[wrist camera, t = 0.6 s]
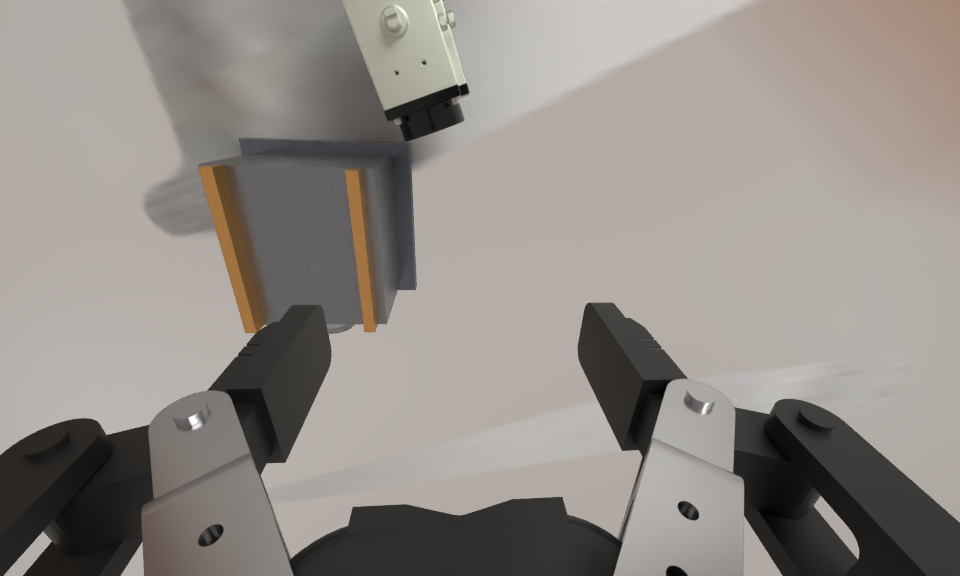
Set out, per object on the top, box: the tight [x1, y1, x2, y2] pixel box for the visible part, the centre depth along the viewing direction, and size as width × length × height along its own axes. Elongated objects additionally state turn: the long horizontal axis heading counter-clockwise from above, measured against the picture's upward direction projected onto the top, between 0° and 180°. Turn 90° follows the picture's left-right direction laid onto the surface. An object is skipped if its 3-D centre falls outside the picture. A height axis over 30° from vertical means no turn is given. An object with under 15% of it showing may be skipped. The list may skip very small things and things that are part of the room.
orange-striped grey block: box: [198, 138, 417, 334], centre depth 30 cm, size 15×14×11 cm
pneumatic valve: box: [340, 0, 469, 141], centre depth 24 cm, size 6×12×12 cm, turn 18°
